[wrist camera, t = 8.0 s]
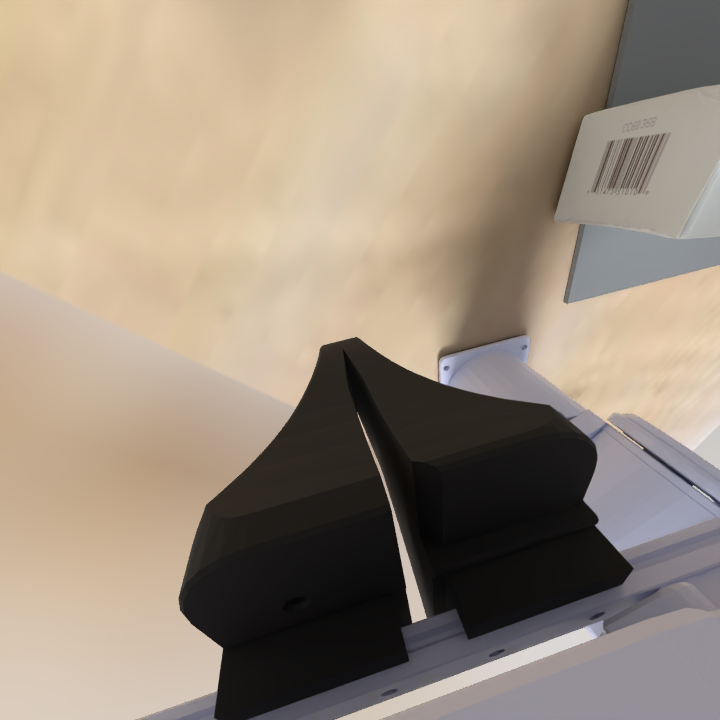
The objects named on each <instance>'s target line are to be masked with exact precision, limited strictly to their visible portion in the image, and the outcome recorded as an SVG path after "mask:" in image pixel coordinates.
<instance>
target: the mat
mask: <svg viewBox="0 0 720 720" xmlns="http://www.w3.org/2000/svg"><path fill="white" fill-rule="evenodd" d="M719 84H720V0H629V4H628V8H627V13H626V18H625V22H624V27H623V31H622V36H621V41H620V45H619V50H618V54H617V59H616V64H615V68H614V73H613V77H612V82H611V87H610V91H609V96H608V100H607V105H606V109H609V108H613V107H617V106H621V105H626V104H630V103H634V102H638V101H641V100H646V99H650V98H655V97H659V96H663V95H668V94H672V93H676V92H680V91H685V90H689V89H694V88H700V87H705V86H713V85H719ZM717 265H720V237H708V238H694V239H672V238H666V237H662V236H658V235H655V234H650V233H644V232H639V231H633V230H627V229H621V228H614V227H606V226H597V225H587V224H581V225H580V229H579V234H578V238H577V243H576V248H575V252H574V257H573V261H572V266H571V271H570V275H569V280H568V284H567V289H566V294H565V298H564V302H565V303H567V304H569V303H573V302H576V301H580V300H584V299H588V298H592V297H596V296H600V295H604V294H608V293H612V292H615V291H619V290H623V289H627V288H631V287H635V286H639V285H643V284H647V283H650V282H654V281H658V280H662V279H666V278H670V277H674V276H678V275H682V274H686V273H689V272H693V271H697V270H701V269H705V268H709V267H713V266H717Z"/></svg>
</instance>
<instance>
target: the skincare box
mask: <svg viewBox="0 0 720 720" xmlns="http://www.w3.org/2000/svg"><path fill="white" fill-rule="evenodd" d="M554 219H555V222H558V223H577V224H587V225H597V226H606V227H614V228H621V229H627V230H633V231H639V232H644V233H650V234H655V235H658V236H662V237H666V238H672V239H694V238H708V237H720V84H719V85H713V86H705V87H700V88H694V89H689V90H685V91H680V92H676V93H672V94H668V95H663V96H659V97H655V98H650V99H646V100H641V101H638V102H634V103H630V104H626V105H621V106H617V107H613V108H609V109H605V110H601V111H597V112H594V113H590V114H587V115H586V116H585V117H584V118H583V121H582V124H581V127H580V130H579V134H578V137H577V140H576V144H575V147H574V150H573V154H572V158H571V161H570V165H569V168H568V172H567V175H566V179H565V182H564V186H563V189H562V192H561V196H560V199H559V202H558V206H557V210H556V213H555V217H554Z"/></svg>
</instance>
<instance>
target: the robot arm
mask: <svg viewBox="0 0 720 720" xmlns="http://www.w3.org/2000/svg"><path fill="white" fill-rule="evenodd" d="M523 345H524V346H523ZM522 346H523V347H522ZM529 346H530V337H528V336H526V335H522V336H519V337H515V338H511V339H507V340H503V341H500V342H496V343H492V344H488V345H484V346H481V347H477V348H473V349H469V350H465V351H462V352H458V353H454V354H450V355H446V356H443V357H442V358H441V359H440V360H439V382H436V381H433V380H430V379H428V378H426V377H423V376H421V375H418V374H416V373H413V372H411V371H409V370H407V369H405V368H403V367H401V366H399V365H398V364H396V363H394V362H392V361H391V360H389V359H387V358H386V357H384V356H383V355H381V354H380V353H378V352H377V351H375V350H374V349H372V348H371V347H370V346H368V345H367V344H366V343H364V342H363V341H362V340H360V339H359V338H357V337H355V338H351V339H347V340H343V341H339V342H335V343H331V344H327V345H323V346H322V347H321V348H320V352H319V357H318V361H317V364H316V367H315V370H314V372H313V375H312V378H311V380H310V382H309V384H308V387H307V389H306V391H305V393H304V395H303V397H302V399H301V401H300V402H299V404H298V406H297V408H296V409H295V411H294V412H293V414H292V416H291V417H290V419H289V420H288V422H287V423H286V424H285V426H284V427H283V428H282V430H281V431H280V432H279V433H278V435H277V436H276V437H275V439H274V440H273V441H272V442H271V443H270V444H269V445H268V447H267V448H266V449H265V450H264V451H263V452H262V454H260V455H259V456H258V457H257V459H256V460H255V461H254V462H253V463H252V464H251V465H250V466H249V467H248V468H247V469H246V470H245V471H244V472H243V473H242V474H240V475H239V476H238V477H237V478H236V479H235V480H234V481H233V482H232V483H230V484H229V485H228V486H227V487H226V488H225V489H224V490H223V491H222V492H221V493H219V494H218V495H217V496H216V497H215V498H214V499H213V500H211V501H210V502H209V503H208V504H207V505H206V507H205V510H204V513H203V516H202V518H201V521H200V523H199V526H198V529H197V532H196V535H195V538H194V541H193V545H192V549H191V552H190V556H189V561H188V564H187V568H186V572H185V576H184V579H183V583H182V587H181V591H180V595H179V605H180V611H181V612H182V613H183V614H184V615H185V617H186V618H187V619H188V620H189V621H190V623H191V624H192V625H193V626H195V627H196V628H197V629H199V630H200V631H201V632H203V633H204V634H205V635H207V636H208V637H209V638H211V639H212V640H213V641H214V642H216V643H217V644H218V645H220V646H221V647H222V648H223V654H222V661H221V669H220V676H219V683H218V691H217V692H214V693H211V694H208V695H206V696H203V697H200V698H197V699H194V700H191V701H189V702H185V703H183V704H180V705H177V706H174V707H171V708H168V709H165V710H163V711H160V712H157V713H154V714H151V715H148V716H145V717H143V718H140V719H137V720H334V719H337V718H340V717H343V716H346V715H348V714H351V713H353V712H356V711H359V710H362V709H365V708H367V707H370V706H373V705H375V704H378V703H381V702H383V701H386V700H389V699H392V698H394V697H397V696H400V695H402V694H405V693H408V692H410V691H413V690H416V689H419V688H421V687H424V686H426V685H429V684H432V683H435V682H437V681H440V680H443V679H446V678H448V677H451V676H454V675H456V674H459V673H461V672H464V671H467V670H470V669H472V668H475V667H478V666H481V665H483V664H486V663H488V662H491V661H494V660H497V659H500V658H502V657H505V656H508V655H510V654H513V653H516V652H518V651H521V650H524V649H527V648H529V647H532V646H535V645H537V644H540V643H543V642H545V641H548V640H551V639H553V638H556V637H559V636H562V635H564V634H567V633H570V632H572V631H575V630H578V629H581V628H583V627H584V628H585V629H586V630H587V631H588V632H589V633H590V634H591V635H592V636H593V637H594V638H595V639H593V640H590V641H588V642H585V643H582V644H580V645H577V646H575V647H572V648H569V649H567V650H564V651H561V652H558V653H556V654H553V655H550V656H548V657H545V658H543V659H540V660H537V661H535V662H532V663H530V664H527V665H524V666H521V667H519V668H516V669H513V670H511V671H508V672H505V673H503V674H500V675H497V676H495V677H492V678H489V679H487V680H484V681H481V682H479V683H476V684H473V685H471V686H468V687H465V688H463V689H460V690H457V691H455V692H452V693H449V694H447V695H444V696H441V697H439V698H436V699H433V700H431V701H428V702H425V703H423V704H420V705H417V706H415V707H412V708H409V709H407V710H405V711H402V712H399V713H396V714H394V715H391V716H388V717H386V718H383V719H381V720H720V470H719V469H717V468H716V467H714V466H713V465H711V464H710V463H708V462H707V461H706V460H704V459H703V458H701V457H700V456H698V455H697V454H696V453H694V452H693V451H691V450H690V449H688V448H687V447H685V446H684V445H682V444H681V443H679V442H678V441H676V440H675V439H673V438H672V437H670V436H669V435H667V434H666V433H664V432H662V431H661V430H659V429H658V428H656V427H655V426H653V425H651V424H650V423H648V422H647V421H645V420H643V419H642V418H640V417H638V416H636V415H634V414H619V413H613V414H612V415H611V416H610V417H609V418H608V419H607V420H609V421H610V422H611V423H613V424H614V425H615V426H617V427H618V428H619V429H621V430H622V431H623V433H624V434H625V435H627V436H628V437H629V438H631V439H632V440H633V441H635V442H636V443H637V444H639V445H640V446H641V447H643V448H644V449H643V450H642V449H641V448H640V447H638V446H637V445H636V444H634V443H633V442H632V441H630V440H629V439H628V438H626V437H625V436H624V435H622V434H621V433H620V432H618V431H617V430H616V429H614V428H613V427H612V426H610V425H609V424H607V423H606V422H605V421H603V420H602V419H601V418H599V417H598V416H597V415H595V414H594V413H593V412H591V411H590V410H587V409H585V408H584V407H583V406H581V405H580V404H579V403H577V402H576V401H575V400H573V399H572V398H571V397H569V396H568V395H567V394H565V393H564V392H563V391H561V390H560V389H559V388H557V387H556V386H555V385H553V384H552V383H551V382H549V381H548V380H547V379H545V378H544V377H543V376H541V375H540V374H539V373H537V372H536V371H535V370H533V369H532V368H531V367H529V366H528V365H527V358H528V352H529ZM445 366H447V367H446V368H444V367H445ZM357 412H358V414H357ZM358 415H359V417H360V419H361V422H362V424H363V426H364V429H365V431H366V433H367V436H368V438H369V441H370V443H371V445H372V448H373V450H374V452H375V455H376V457H377V459H378V462H379V464H380V467H381V470H382V472H383V475H384V478H385V482H386V485H387V488H388V491H389V494H390V497H391V501H392V504H393V507H394V510H395V514H396V517H397V520H398V523H399V526H400V530H401V533H402V536H403V540H404V543H405V546H406V550H407V553H408V556H409V559H410V562H411V566H412V569H413V573H414V576H415V579H416V582H417V586H418V589H419V593H420V596H421V599H422V603H423V606H424V609H425V613H426V616H427V619H424V620H421V621H418V622H415V623H412V620H411V615H410V609H409V604H408V599H407V594H406V589H405V588H406V584H405V579H404V574H403V568H402V563H401V558H400V553H399V548H398V543H397V537H396V532H395V527H394V522H393V516H392V511H391V508H390V504H389V501H388V497H387V494H386V491H385V488H384V485H383V482H382V479H381V476H380V473H379V471H378V468H377V466H376V464H375V461H374V458H373V456H372V453H371V450H370V448H369V445H368V443H367V440H366V437H365V435H364V432H363V429H362V426H361V423H360V421H359V418H358ZM693 485H694V486H696V487H697V488H698V489H700V490H701V491H702V492H704V493H705V494H706V495H708V496H710V498H711V499H712V500H713V501H714V502H712V501H711V500H710V499H708V498H707V497H706V496H704V495H703V494H701V493H700V492H699V491H698V490H696V489H695V488H693V487H692V486H693Z"/></svg>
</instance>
